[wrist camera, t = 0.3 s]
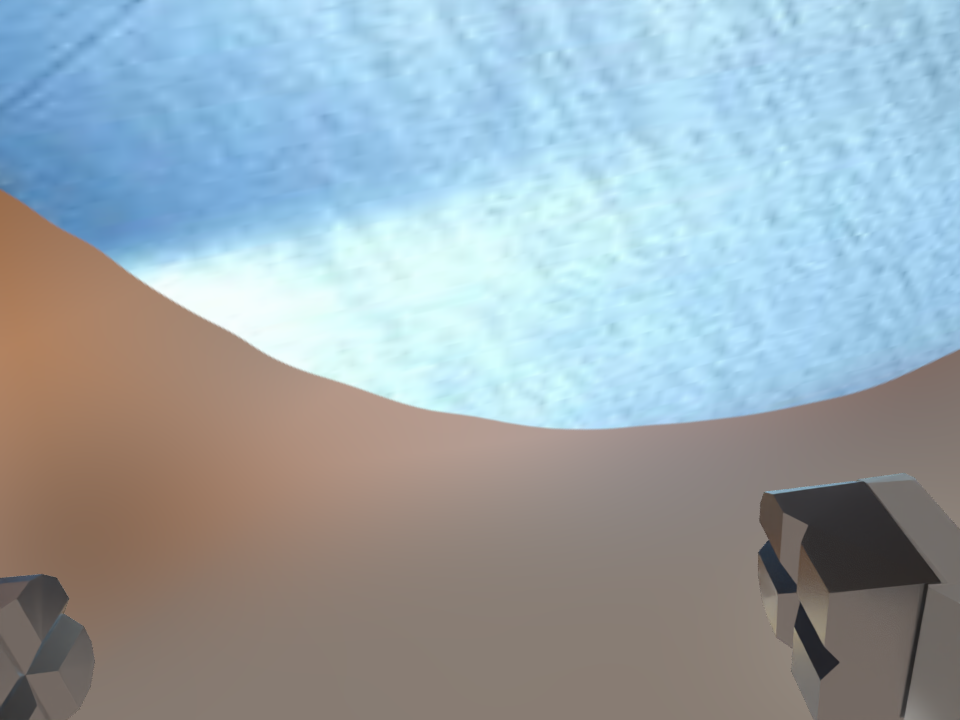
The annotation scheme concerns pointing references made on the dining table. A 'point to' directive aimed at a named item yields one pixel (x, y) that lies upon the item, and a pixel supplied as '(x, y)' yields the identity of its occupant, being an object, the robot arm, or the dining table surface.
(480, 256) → the dining table surface
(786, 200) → the dining table surface
